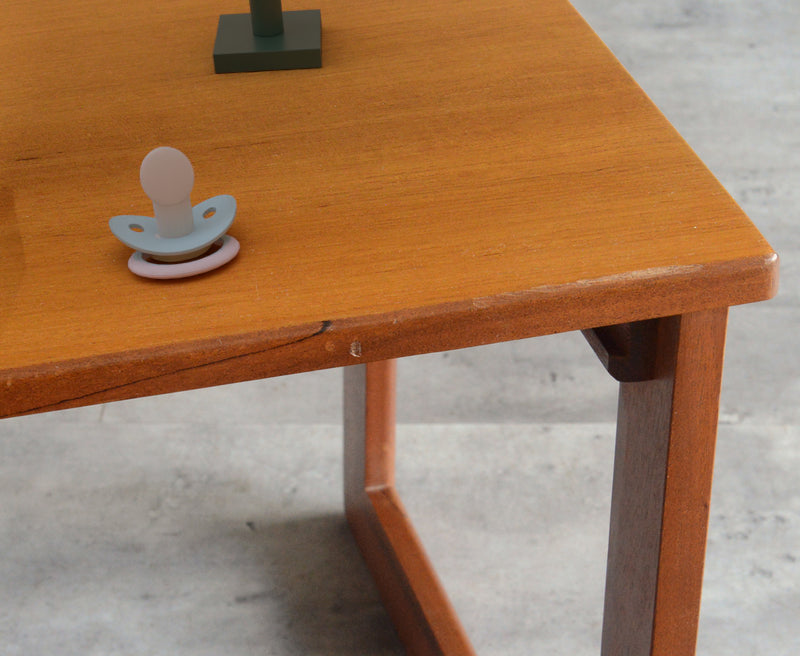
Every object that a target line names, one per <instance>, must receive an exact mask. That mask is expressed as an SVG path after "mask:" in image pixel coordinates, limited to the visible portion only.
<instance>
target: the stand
mask: <svg viewBox="0 0 800 656" xmlns="http://www.w3.org/2000/svg"><path fill="white" fill-rule="evenodd" d="M248 3H249V12H245V13H244V12H243V13H227V14H225V13H224V14H219V18H218V23H217V29H216V34H215V39H214V45H213V51H212V60H213V68H214V73H215V74H226V73H227V74H228V73H243V72H244V73H245V72H247V73H248V72H262V71H263V72H264V71H281V70H298V69H299V70H300V69H316V68H322V67H323V44H322V43H323V24H322V23H323V22H322V11H321V8H317V9H300V10H299V9H298V10H283V6H282V0H248Z"/></svg>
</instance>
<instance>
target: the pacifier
mask: <svg viewBox="0 0 800 656" xmlns="http://www.w3.org/2000/svg"><path fill="white" fill-rule="evenodd" d="M139 181H140V185H141V188H142V189H143V191H144V193H145V195H146V196H147V197H148V198H149V199H150V200H151V203H152V209H153V213H154V217H153V216H145V215H134V214H122V215H116V216H112V217H110V218H109V220H108V227H109V229H110V232H111V233H112V234H113V236H114V237H115V238H117V239H118V240H119V242H121V243H122V244H124V245H126V246H127V247H129V248H131V249H133V250H135V251H134V252H133V253H132V254H131V256H130V257H129V258H128V261H127V267H128V269H129V270H130V271H131V272H132V273H133V274H135V275H137V276H139V277H143V278H148V279H158V280H159V279H160V280H169V279H181V278H186V277H192V276H197V275H199V274H200V275H201V274H204V273H207V272H210V271H213V270H215V269H218V268H220V267H221V266H223V265H225V264H227V263H229V262H230V261H232V259H234V258H235V257H236V256H237V255H238V253H239V252H240V249H241V245H240V242H239V241H238V240H237V239H236V237H234V236H231V235H229V234H226V233H227V232H228V230H229V229H230V228H231V227H232V225H233V224H234V221H235V219H236V216H237V211H238V206H237V201H236V198H235V197H234V196H233V195H230V194H219V195H215V196H213V197H209V198H207V199H205V200H203V201H201V202H199V203H198V204H195V205H194V206H192V202H191V201H192V200H191V196H190V195H191V193H192V192H193V189H194V185H195V171H194V167H193V165H192V163H191V161H190V159H189V158H188V157H187V156H186V155H185V154H184V153H183V152H182V151H180V150H179V149H177V148H174V147H171V146H159V147H156V148H154V149H152V150H151V151H150V152H148V153H147V154H146V156H144V158H143V160H142V162H141V165H140V169H139ZM211 213H214V214H213V215H212V216H210V217H207V218H205V217H206V216H207V215H208V214H211ZM133 229H138V230H141V232H140V231H135V230H133ZM212 245H217V246H219V247H220V248H219V249H218V250H217V251H215V252H214V253H211V254H210V255H207V256H205V257H203V258H200V259H197V260H193V261H189V262H183V263H177V264H175V263H176V262H182V261H187V260H191V259H194V258H197V257H200V256H201V255H203V254H204V253H206V252H207V251H209V249H210V248H211V247H212ZM150 257H151V258H152V259H153V260H157V261H160V262H165V263H166V262H167V263H174V262H175V263H174V264H157V263H151V262H148V261H147V259H149V258H150Z"/></svg>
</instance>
